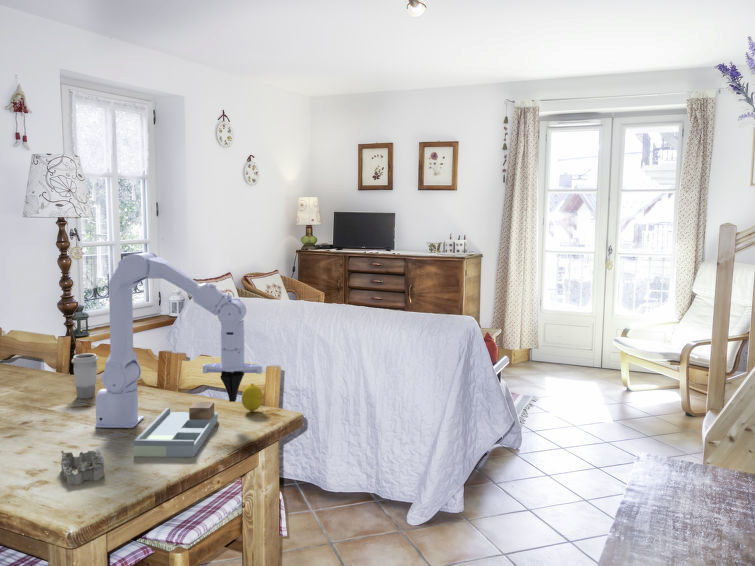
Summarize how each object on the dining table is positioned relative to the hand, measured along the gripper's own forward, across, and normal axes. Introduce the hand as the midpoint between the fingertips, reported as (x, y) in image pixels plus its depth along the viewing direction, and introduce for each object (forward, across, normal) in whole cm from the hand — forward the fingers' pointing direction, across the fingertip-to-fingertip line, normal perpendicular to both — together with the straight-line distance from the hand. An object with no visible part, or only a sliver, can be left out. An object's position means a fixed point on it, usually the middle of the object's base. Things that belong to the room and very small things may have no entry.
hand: (232, 400), depth 152 cm
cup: (+7, -47, +23) cm, 53 cm away
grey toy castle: (+7, -25, -29) cm, 38 cm away
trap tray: (+7, -11, -8) cm, 15 cm away
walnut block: (+4, -8, 0) cm, 9 cm away
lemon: (+7, +3, +11) cm, 13 cm away
